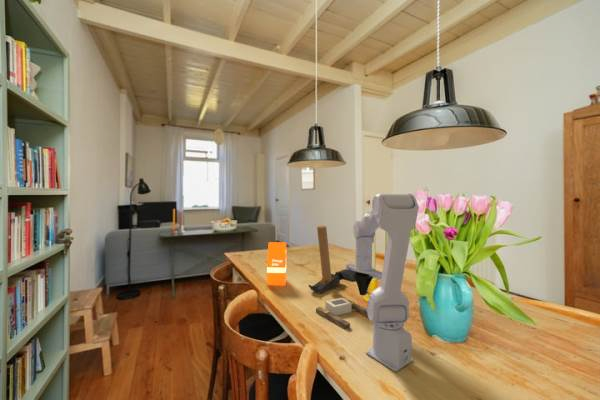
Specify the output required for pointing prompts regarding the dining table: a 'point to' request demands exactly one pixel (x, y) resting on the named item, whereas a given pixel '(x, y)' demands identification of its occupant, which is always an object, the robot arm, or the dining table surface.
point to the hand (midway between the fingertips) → (363, 294)
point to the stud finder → (338, 306)
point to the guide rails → (337, 319)
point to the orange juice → (276, 263)
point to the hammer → (325, 265)
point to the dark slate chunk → (348, 274)
